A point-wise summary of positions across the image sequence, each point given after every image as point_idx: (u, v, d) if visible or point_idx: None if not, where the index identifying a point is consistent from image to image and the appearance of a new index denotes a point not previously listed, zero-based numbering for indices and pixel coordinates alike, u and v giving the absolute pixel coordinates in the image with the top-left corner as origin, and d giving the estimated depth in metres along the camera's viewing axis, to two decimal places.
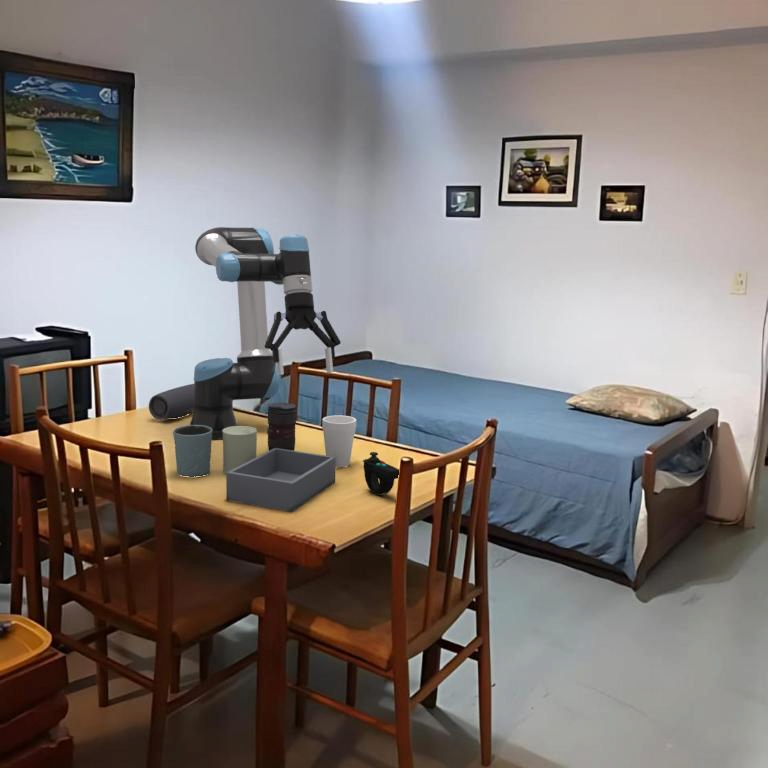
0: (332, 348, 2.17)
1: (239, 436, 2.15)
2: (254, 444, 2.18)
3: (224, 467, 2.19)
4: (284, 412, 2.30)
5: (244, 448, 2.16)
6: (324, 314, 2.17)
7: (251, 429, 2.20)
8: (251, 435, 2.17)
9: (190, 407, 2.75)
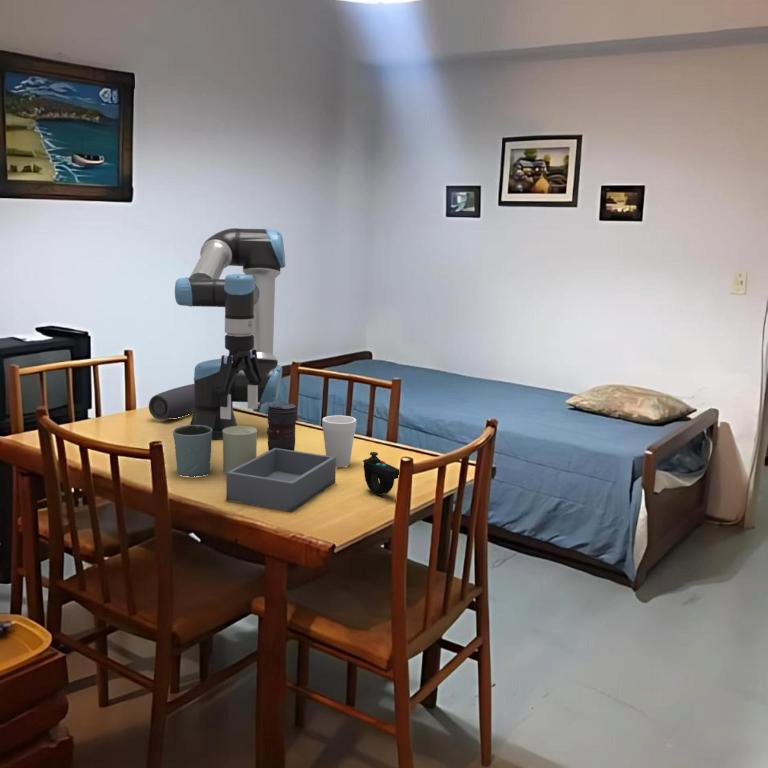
0: None
1: (239, 436, 2.15)
2: (254, 444, 2.18)
3: (224, 467, 2.19)
4: (284, 412, 2.30)
5: (244, 448, 2.16)
6: (255, 353, 2.20)
7: (251, 429, 2.20)
8: (251, 435, 2.17)
9: (190, 407, 2.75)
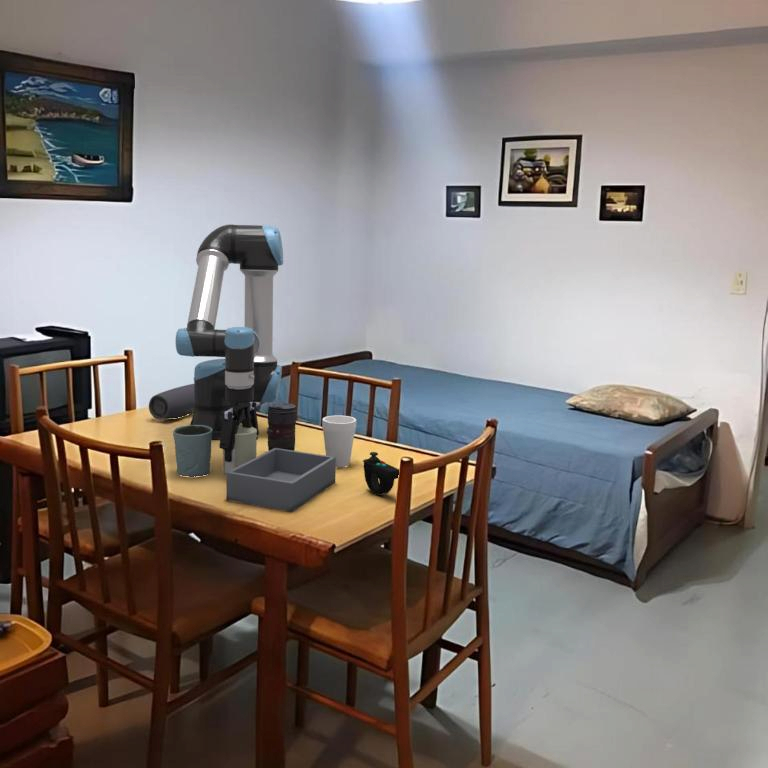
0: None
1: (239, 435, 2.15)
2: (254, 444, 2.18)
3: (224, 467, 2.19)
4: (284, 412, 2.30)
5: (244, 448, 2.16)
6: (255, 406, 2.23)
7: (251, 429, 2.20)
8: (251, 435, 2.17)
9: (190, 407, 2.75)
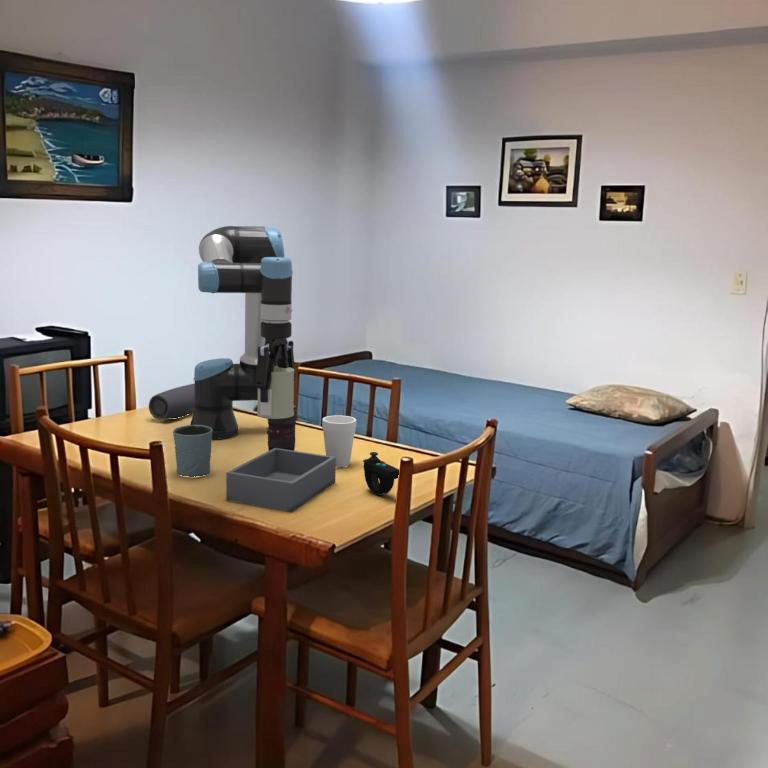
0: None
1: (276, 374, 1.98)
2: (291, 384, 2.02)
3: (259, 409, 2.02)
4: None
5: (281, 388, 2.00)
6: (292, 345, 2.07)
7: (288, 369, 2.04)
8: (289, 374, 2.00)
9: (190, 407, 2.75)
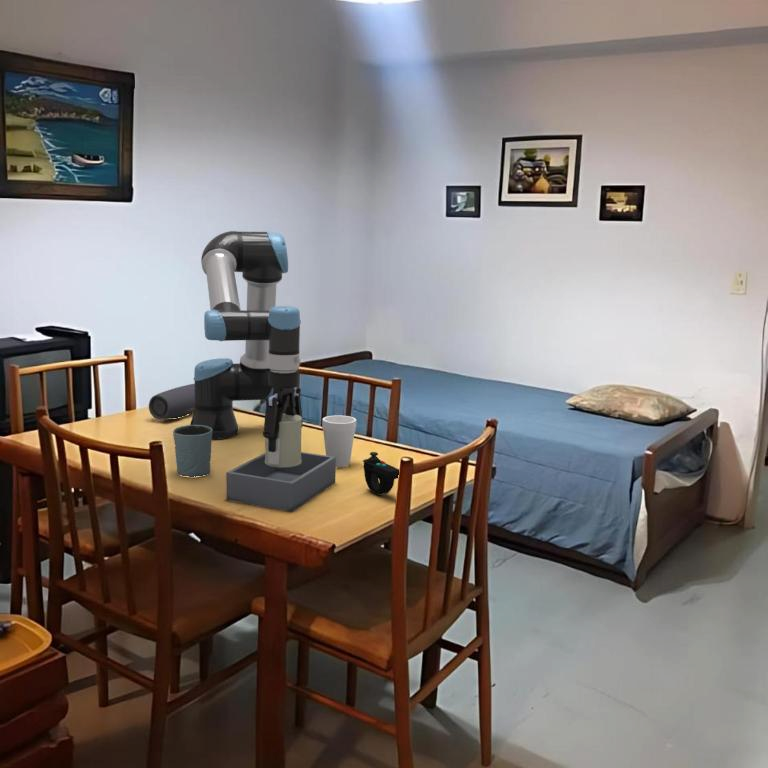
0: None
1: (284, 423, 1.99)
2: (299, 433, 2.02)
3: (267, 458, 2.03)
4: None
5: (289, 437, 2.00)
6: (299, 392, 2.07)
7: (295, 417, 2.04)
8: (297, 423, 2.01)
9: (190, 407, 2.75)
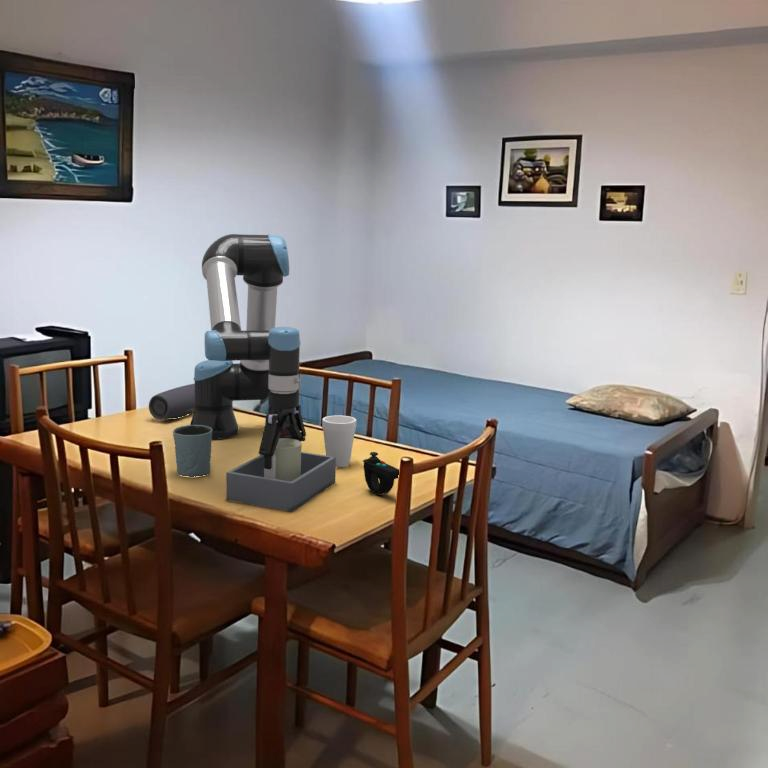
0: (300, 441, 2.12)
1: (284, 449, 2.00)
2: (299, 458, 2.04)
3: None
4: None
5: (289, 463, 2.01)
6: (299, 408, 2.08)
7: (295, 442, 2.06)
8: (297, 449, 2.02)
9: (190, 407, 2.75)
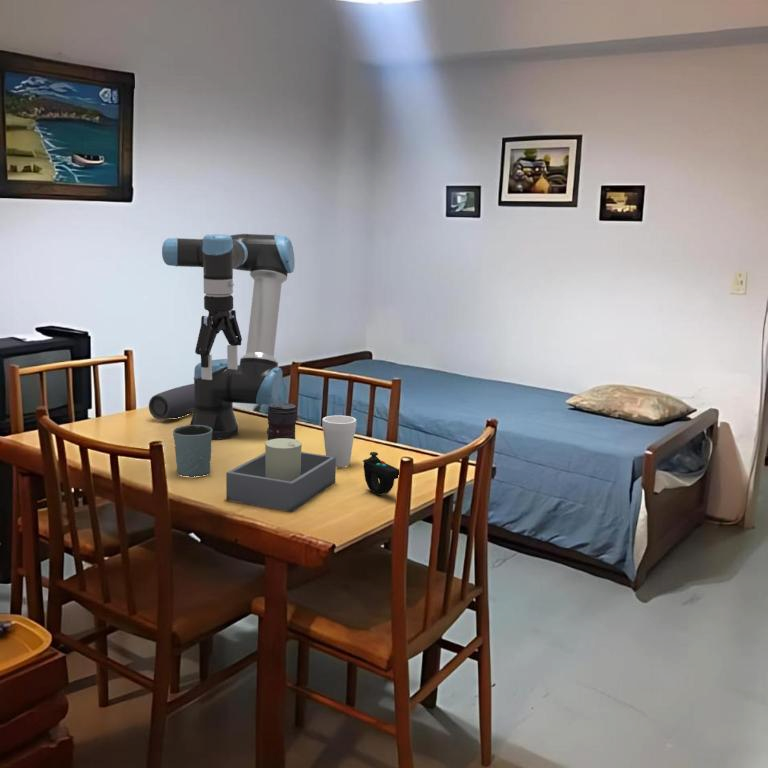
0: (236, 345, 2.25)
1: (284, 449, 2.00)
2: (299, 458, 2.04)
3: None
4: (284, 412, 2.30)
5: (289, 463, 2.01)
6: (234, 314, 2.21)
7: (295, 442, 2.06)
8: (297, 449, 2.02)
9: (190, 407, 2.75)
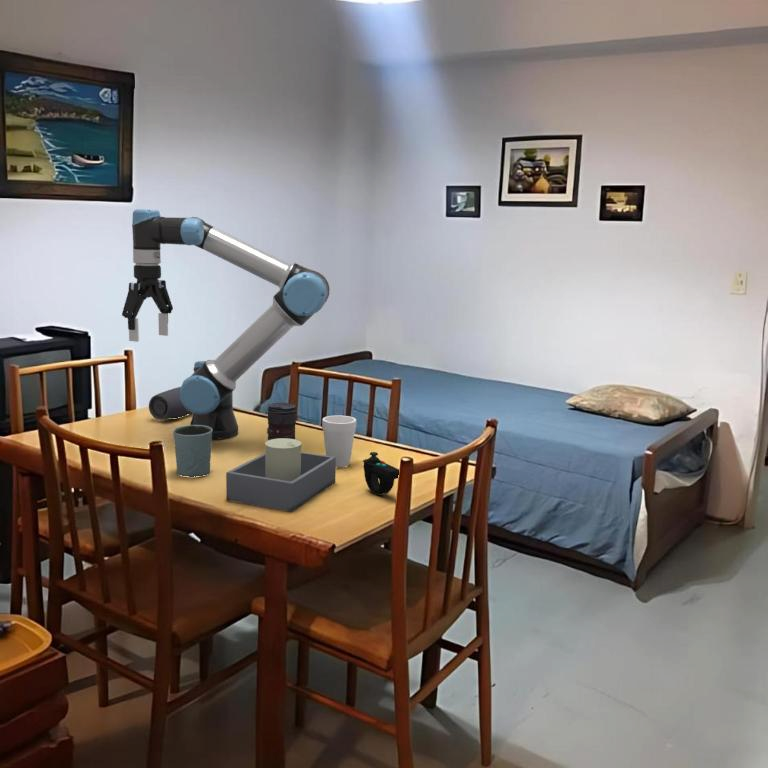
0: (167, 314, 2.44)
1: (284, 449, 2.00)
2: (299, 458, 2.04)
3: None
4: (284, 412, 2.30)
5: (289, 463, 2.01)
6: (164, 283, 2.40)
7: (295, 442, 2.06)
8: (296, 449, 2.02)
9: None
